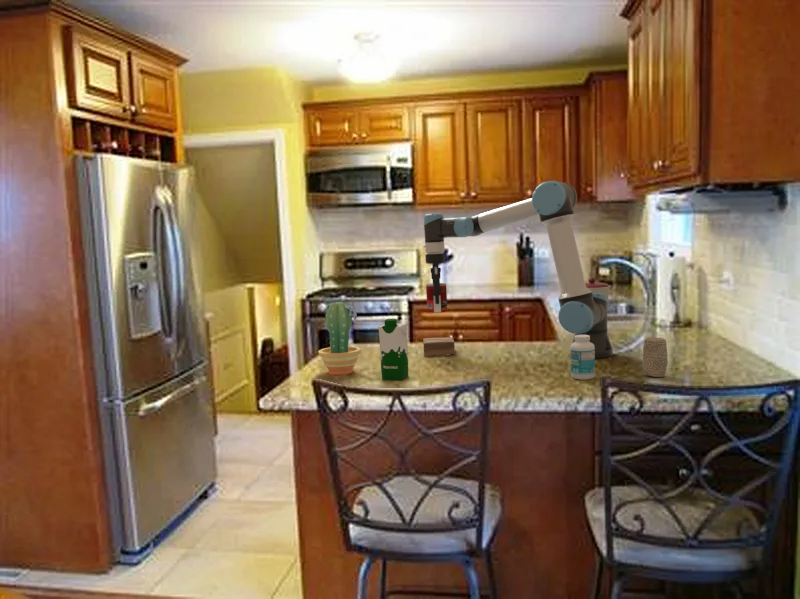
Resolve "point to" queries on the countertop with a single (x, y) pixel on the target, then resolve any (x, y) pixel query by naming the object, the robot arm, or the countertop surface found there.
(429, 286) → the canned food
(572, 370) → the pill bottle
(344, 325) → the potted cactus
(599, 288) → the canister
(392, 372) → the milk carton
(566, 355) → the countertop surface
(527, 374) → the countertop surface
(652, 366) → the carving
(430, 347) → the block
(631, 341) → the countertop surface
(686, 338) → the countertop surface
